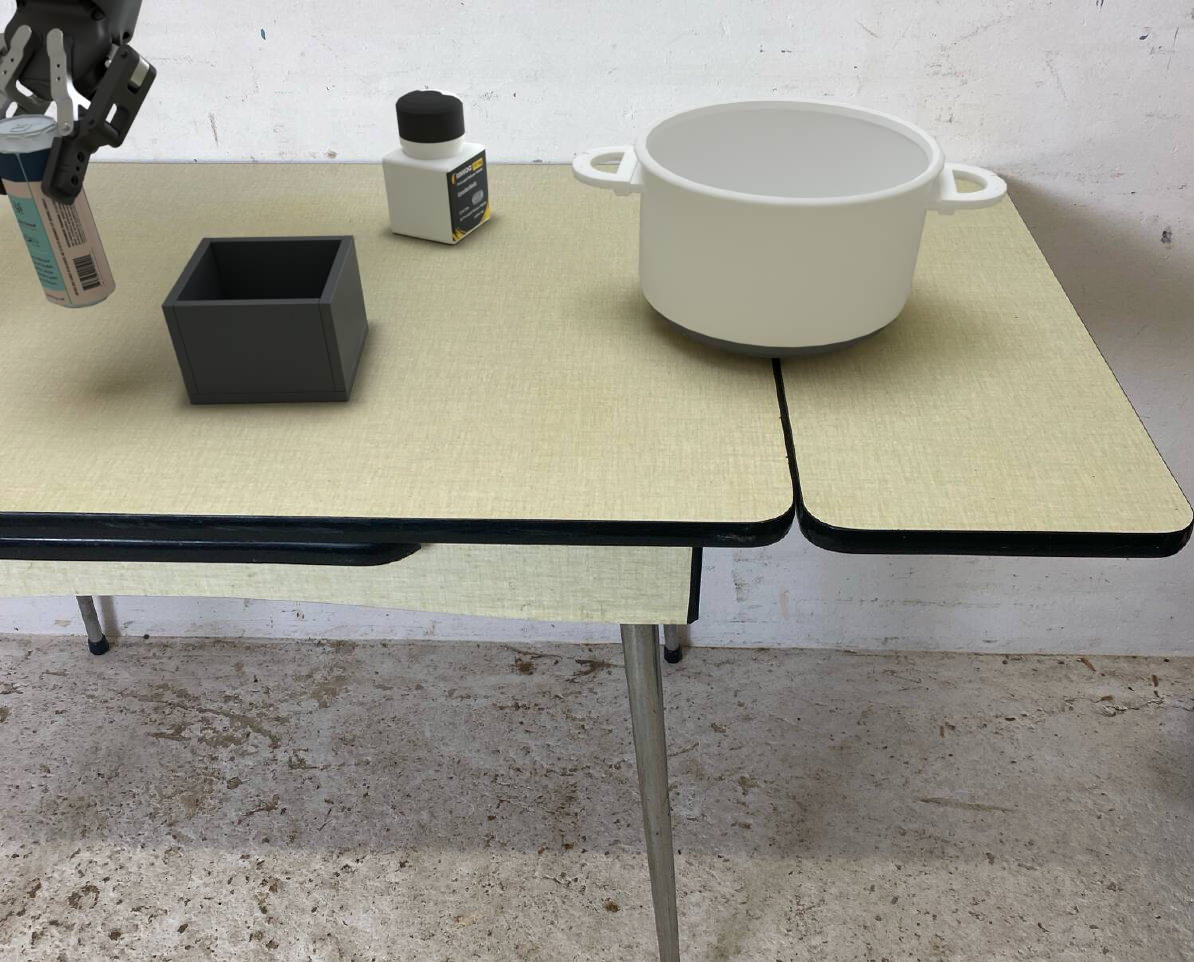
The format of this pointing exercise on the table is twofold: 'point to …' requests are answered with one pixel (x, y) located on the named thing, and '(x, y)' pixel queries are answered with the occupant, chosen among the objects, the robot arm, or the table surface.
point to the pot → (783, 218)
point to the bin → (268, 319)
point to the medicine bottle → (435, 170)
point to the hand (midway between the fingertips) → (23, 193)
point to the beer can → (52, 218)
